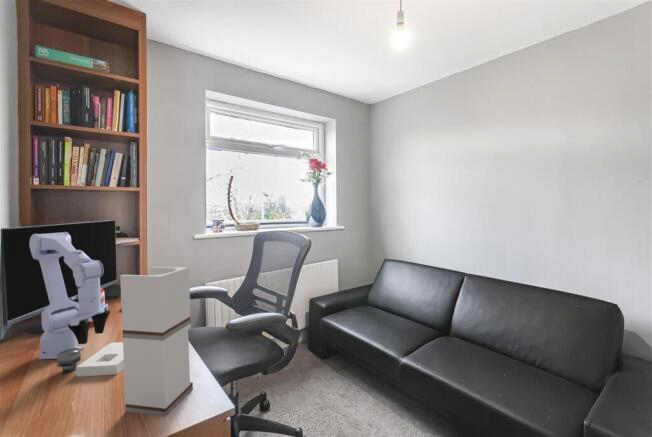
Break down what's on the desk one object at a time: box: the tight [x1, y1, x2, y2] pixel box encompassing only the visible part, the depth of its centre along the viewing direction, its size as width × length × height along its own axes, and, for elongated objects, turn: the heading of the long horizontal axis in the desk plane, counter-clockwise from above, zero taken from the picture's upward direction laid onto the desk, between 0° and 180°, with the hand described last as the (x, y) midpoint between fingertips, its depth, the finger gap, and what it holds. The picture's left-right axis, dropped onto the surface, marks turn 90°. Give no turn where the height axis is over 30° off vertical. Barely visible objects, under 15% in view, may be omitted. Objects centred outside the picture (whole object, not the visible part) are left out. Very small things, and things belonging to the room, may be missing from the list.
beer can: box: [87, 286, 106, 326], centre depth 130 cm, size 6×6×16 cm
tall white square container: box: [119, 266, 194, 418], centre depth 76 cm, size 11×11×35 cm
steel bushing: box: [56, 348, 82, 374], centre depth 91 cm, size 6×6×6 cm
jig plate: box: [75, 341, 124, 378], centre depth 96 cm, size 12×16×3 cm
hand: (91, 338), depth 95 cm, fingers open, 7 cm apart
